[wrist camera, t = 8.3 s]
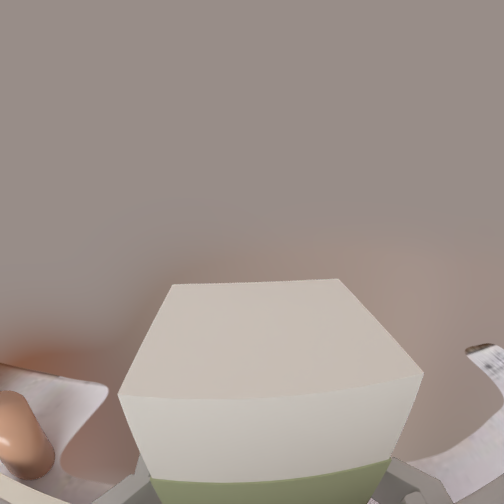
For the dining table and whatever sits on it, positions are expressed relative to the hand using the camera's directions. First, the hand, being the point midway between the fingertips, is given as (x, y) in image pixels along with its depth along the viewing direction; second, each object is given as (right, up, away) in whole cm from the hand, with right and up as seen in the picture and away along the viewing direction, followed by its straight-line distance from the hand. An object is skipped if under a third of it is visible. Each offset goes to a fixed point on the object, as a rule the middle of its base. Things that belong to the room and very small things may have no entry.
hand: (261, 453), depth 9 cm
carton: (0, -9, +1) cm, 9 cm away
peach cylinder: (-21, -12, +7) cm, 25 cm away
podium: (-13, -15, -4) cm, 20 cm away
